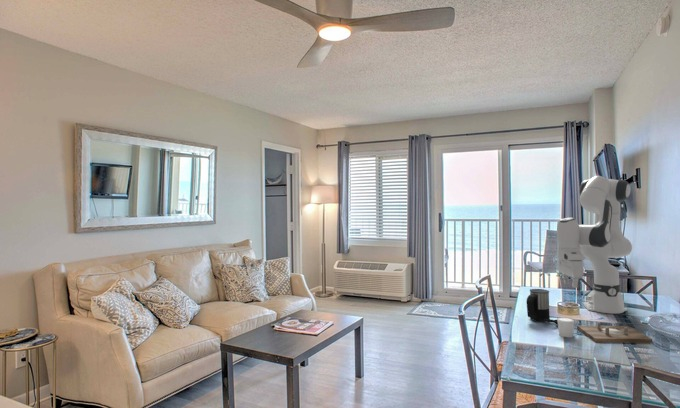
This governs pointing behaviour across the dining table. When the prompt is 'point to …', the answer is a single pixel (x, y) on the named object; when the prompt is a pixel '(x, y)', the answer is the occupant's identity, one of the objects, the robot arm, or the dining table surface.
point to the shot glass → (566, 327)
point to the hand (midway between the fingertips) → (570, 285)
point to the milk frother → (539, 306)
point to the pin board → (614, 334)
